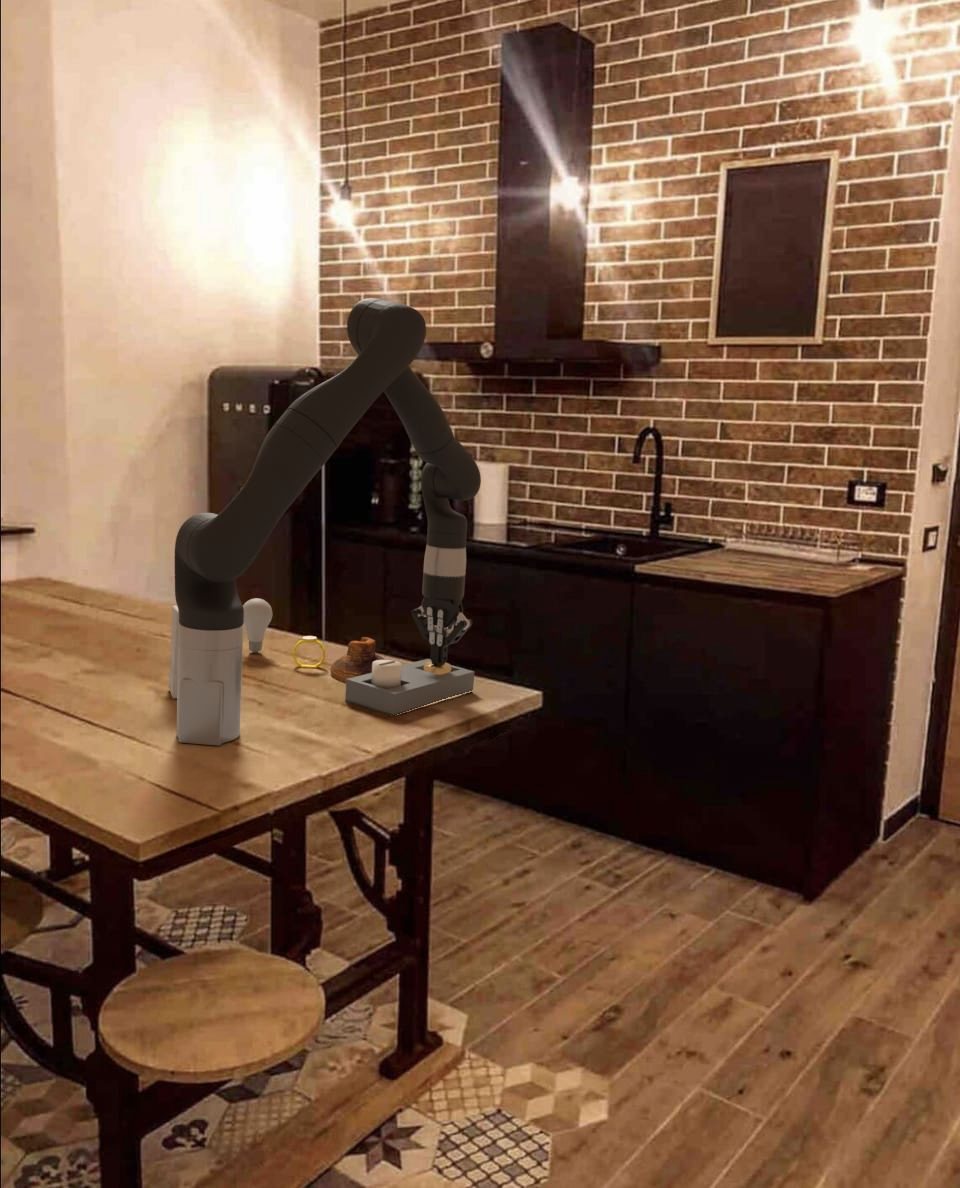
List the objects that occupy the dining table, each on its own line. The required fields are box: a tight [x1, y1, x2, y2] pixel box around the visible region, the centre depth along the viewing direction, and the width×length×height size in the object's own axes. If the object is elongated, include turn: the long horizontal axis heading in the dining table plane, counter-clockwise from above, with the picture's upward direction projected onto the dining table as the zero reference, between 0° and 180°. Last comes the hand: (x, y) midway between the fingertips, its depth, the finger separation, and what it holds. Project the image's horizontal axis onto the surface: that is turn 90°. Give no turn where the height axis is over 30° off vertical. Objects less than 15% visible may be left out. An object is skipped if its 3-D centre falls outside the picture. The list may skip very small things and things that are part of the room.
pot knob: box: [371, 659, 403, 689], centre depth 172 cm, size 5×5×4 cm
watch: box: [292, 635, 326, 669], centre depth 192 cm, size 6×3×6 cm, turn 96°
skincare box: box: [168, 605, 179, 699], centre depth 170 cm, size 8×6×15 cm
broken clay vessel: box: [329, 636, 386, 683], centre depth 190 cm, size 12×12×7 cm
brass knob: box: [424, 661, 451, 675], centre depth 184 cm, size 5×5×4 cm
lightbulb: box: [242, 597, 274, 654], centre depth 199 cm, size 6×6×11 cm
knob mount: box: [344, 658, 475, 717], centre depth 179 cm, size 22×11×4 cm, turn 143°
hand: (438, 664), depth 184 cm, fingers closed
